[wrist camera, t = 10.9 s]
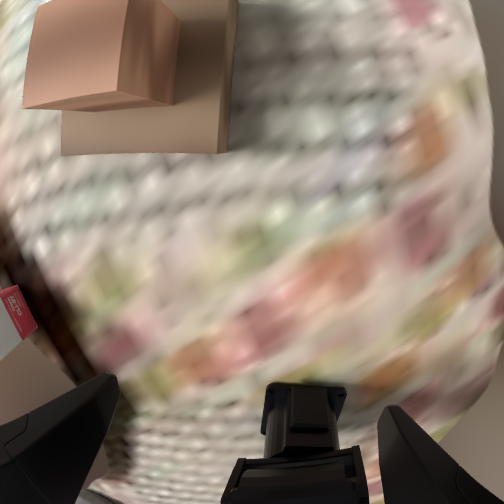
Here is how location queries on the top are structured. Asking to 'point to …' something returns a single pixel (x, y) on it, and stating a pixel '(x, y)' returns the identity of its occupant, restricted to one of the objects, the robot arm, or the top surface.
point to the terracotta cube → (101, 55)
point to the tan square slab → (185, 95)
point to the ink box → (14, 320)
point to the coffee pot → (91, 498)
